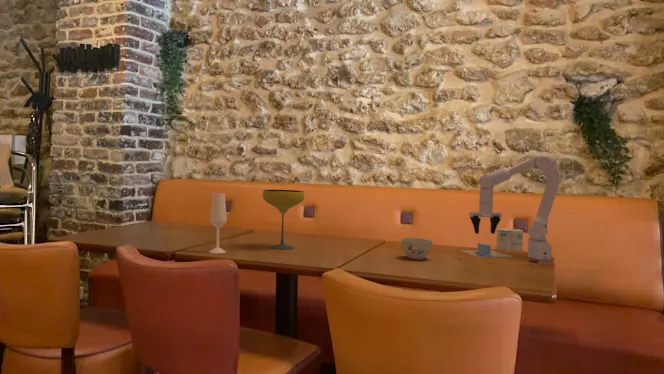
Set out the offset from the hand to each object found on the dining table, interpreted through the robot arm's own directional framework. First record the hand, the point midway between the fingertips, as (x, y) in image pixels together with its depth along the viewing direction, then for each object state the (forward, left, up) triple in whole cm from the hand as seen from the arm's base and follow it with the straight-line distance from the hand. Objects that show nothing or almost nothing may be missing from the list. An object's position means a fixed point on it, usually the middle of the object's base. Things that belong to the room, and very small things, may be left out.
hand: (484, 233), depth 235 cm
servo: (-9, +5, -9) cm, 14 cm away
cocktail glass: (+21, +86, -10) cm, 89 cm away
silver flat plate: (-5, +2, -9) cm, 11 cm away
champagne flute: (+10, +114, -10) cm, 115 cm away
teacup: (-7, +34, -10) cm, 36 cm away
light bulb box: (+6, -16, -10) cm, 20 cm away
